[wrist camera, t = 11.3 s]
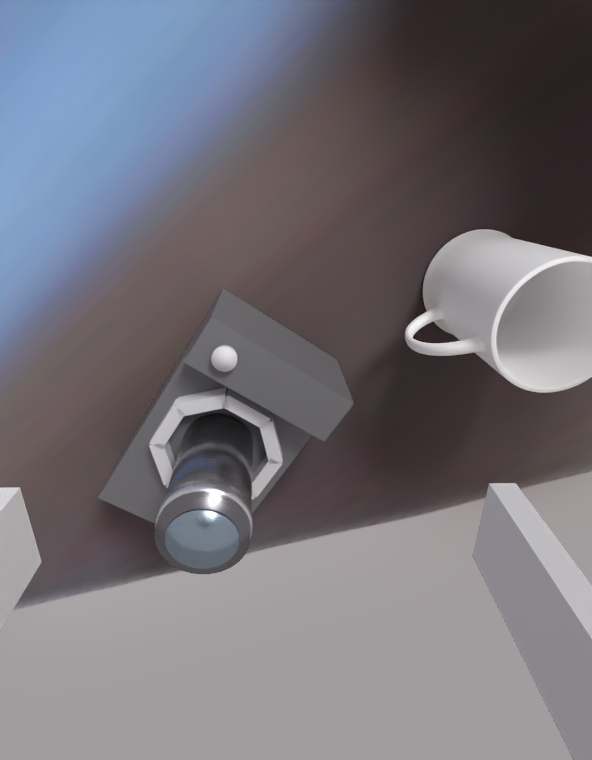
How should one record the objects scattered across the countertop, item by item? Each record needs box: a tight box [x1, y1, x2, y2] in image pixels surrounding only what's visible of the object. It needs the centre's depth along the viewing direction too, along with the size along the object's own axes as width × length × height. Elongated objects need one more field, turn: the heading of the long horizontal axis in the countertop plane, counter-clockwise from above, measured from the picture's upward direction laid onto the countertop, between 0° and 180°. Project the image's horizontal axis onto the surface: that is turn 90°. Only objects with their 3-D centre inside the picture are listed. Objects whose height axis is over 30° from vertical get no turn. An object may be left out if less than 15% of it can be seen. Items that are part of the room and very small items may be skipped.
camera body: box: [98, 288, 354, 524], centre depth 36 cm, size 18×11×9 cm, turn 146°
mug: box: [405, 229, 592, 393], centre depth 32 cm, size 12×8×12 cm
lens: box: [154, 413, 253, 574], centre depth 30 cm, size 5×5×10 cm
